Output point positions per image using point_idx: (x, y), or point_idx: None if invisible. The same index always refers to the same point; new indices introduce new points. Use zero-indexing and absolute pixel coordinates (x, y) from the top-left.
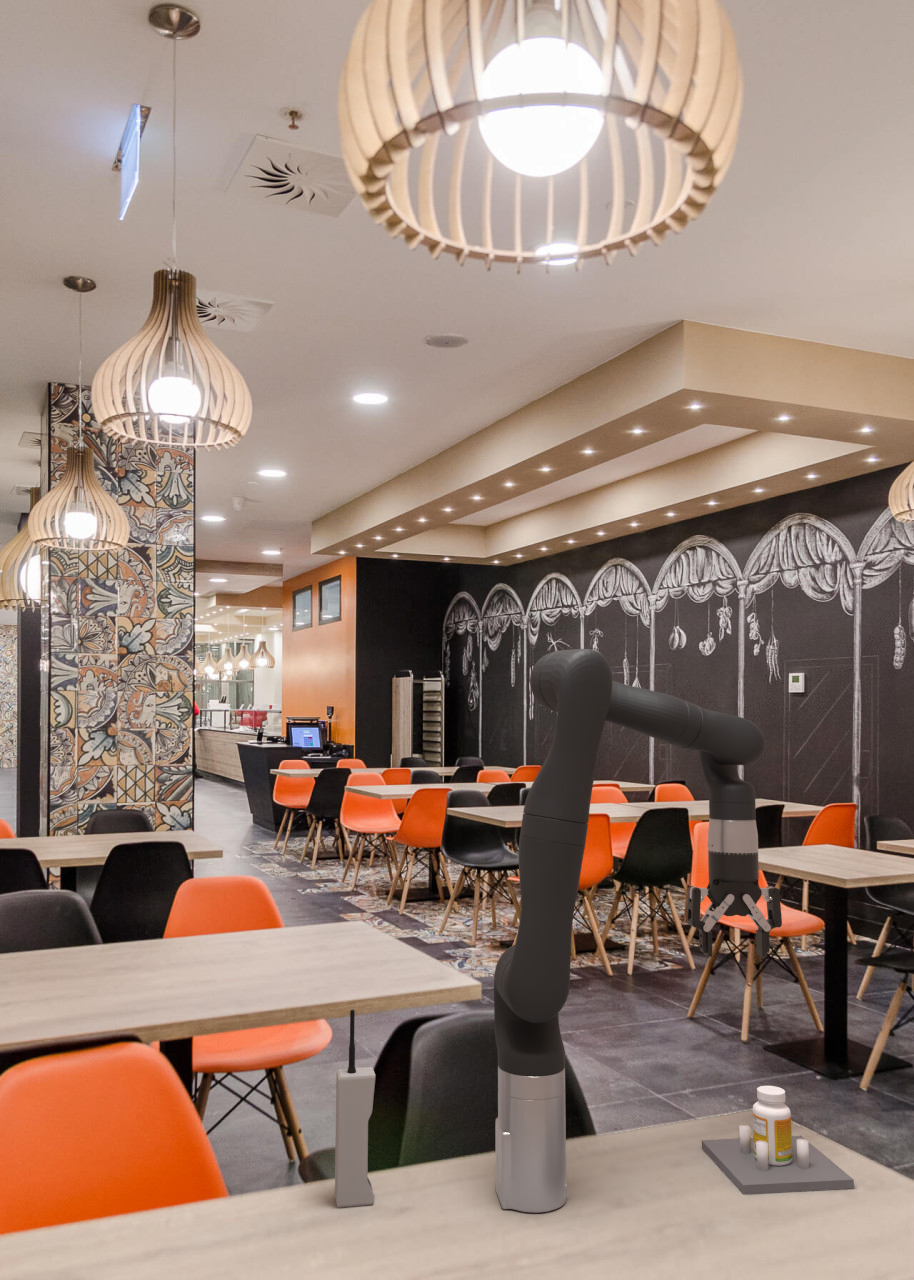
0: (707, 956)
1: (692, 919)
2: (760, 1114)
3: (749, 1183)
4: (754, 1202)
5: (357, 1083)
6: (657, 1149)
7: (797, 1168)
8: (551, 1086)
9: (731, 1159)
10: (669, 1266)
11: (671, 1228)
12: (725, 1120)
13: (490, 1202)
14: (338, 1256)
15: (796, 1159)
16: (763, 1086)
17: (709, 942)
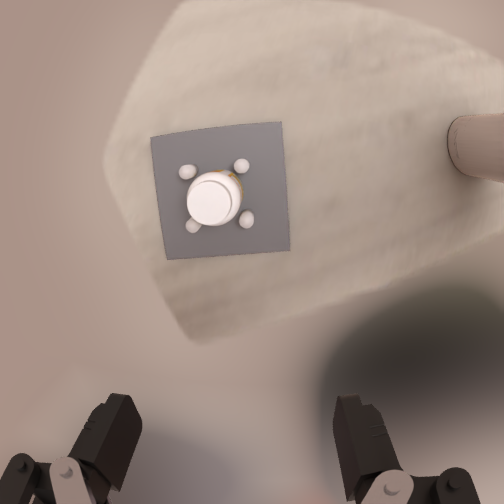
0: (355, 394)
1: (475, 491)
2: (235, 183)
3: (272, 125)
4: (274, 104)
5: None
6: (339, 247)
7: (201, 164)
8: None
9: (272, 192)
10: (382, 13)
11: (371, 64)
12: (236, 323)
13: None
14: None
15: None
16: (215, 219)
17: (364, 435)
